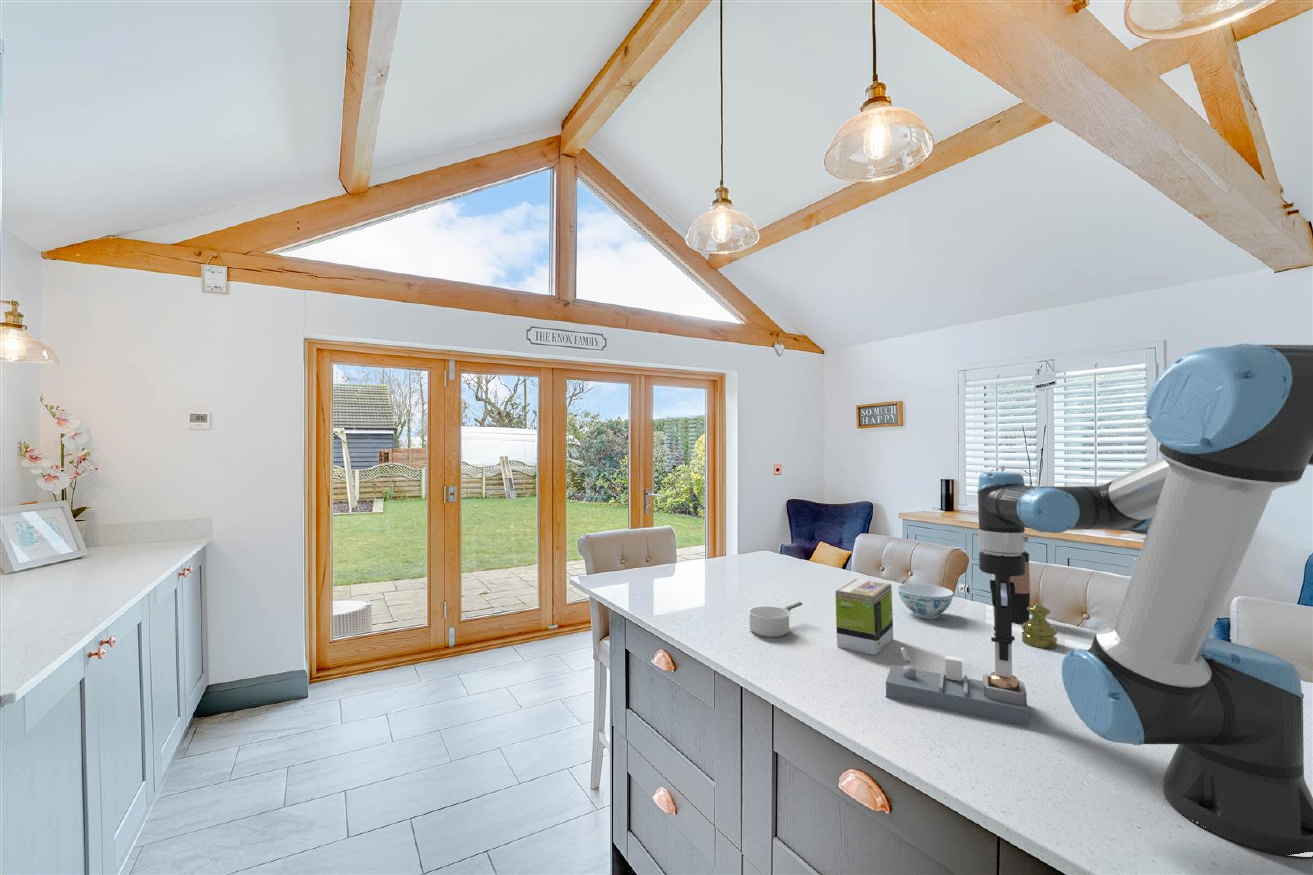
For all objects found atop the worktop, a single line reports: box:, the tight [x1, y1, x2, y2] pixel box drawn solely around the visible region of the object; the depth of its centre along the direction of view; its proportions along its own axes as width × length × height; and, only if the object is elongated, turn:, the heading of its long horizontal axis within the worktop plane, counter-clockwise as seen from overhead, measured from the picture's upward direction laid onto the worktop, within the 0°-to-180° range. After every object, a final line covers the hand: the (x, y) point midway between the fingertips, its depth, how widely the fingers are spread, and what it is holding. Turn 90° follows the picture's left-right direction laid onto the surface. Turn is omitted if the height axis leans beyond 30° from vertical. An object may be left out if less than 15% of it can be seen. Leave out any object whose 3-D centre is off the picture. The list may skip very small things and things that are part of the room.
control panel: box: [885, 664, 1030, 727], centre depth 108 cm, size 10×24×5 cm, turn 60°
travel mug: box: [1010, 551, 1031, 624], centre depth 159 cm, size 8×8×20 cm
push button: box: [989, 671, 1018, 692], centre depth 104 cm, size 4×4×2 cm
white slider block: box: [944, 655, 963, 681], centre depth 111 cm, size 2×3×4 cm, turn 60°
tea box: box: [835, 578, 894, 656], centre depth 140 cm, size 15×10×15 cm
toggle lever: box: [900, 647, 911, 665], centre depth 113 cm, size 1×1×3 cm
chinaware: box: [897, 583, 954, 620], centre depth 163 cm, size 15×15×8 cm
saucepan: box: [747, 601, 803, 638], centre depth 152 cm, size 12×20×6 cm, turn 129°
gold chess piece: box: [1021, 603, 1058, 650], centre depth 139 cm, size 7×7×10 cm
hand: (1003, 674), depth 104 cm, fingers closed
